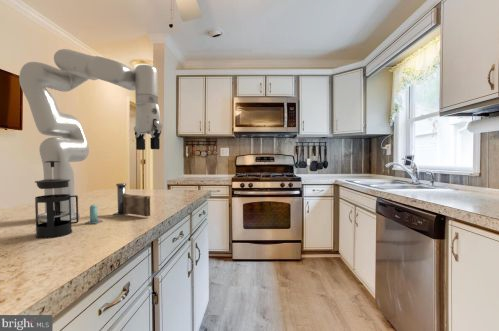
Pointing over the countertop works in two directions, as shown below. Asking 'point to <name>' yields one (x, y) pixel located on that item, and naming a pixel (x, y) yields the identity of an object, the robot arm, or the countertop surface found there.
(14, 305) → the countertop surface
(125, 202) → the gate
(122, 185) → the gate post
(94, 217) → the latch post
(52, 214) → the french press
